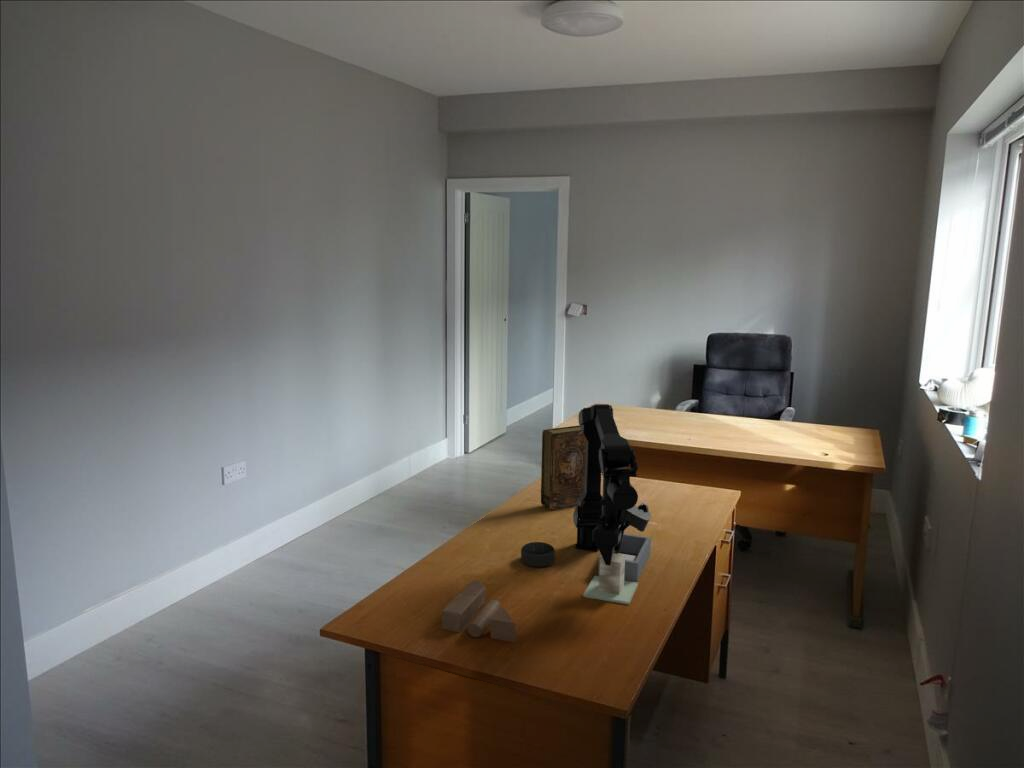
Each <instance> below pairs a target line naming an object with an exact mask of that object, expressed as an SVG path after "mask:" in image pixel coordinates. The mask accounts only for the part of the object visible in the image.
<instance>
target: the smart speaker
mask: <svg viewBox="0 0 1024 768" xmlns="http://www.w3.org/2000/svg"><path fill="white" fill-rule="evenodd" d="M555 556H556V550H555V548H554V547H553V545H551V544H549V543H547V542H542V541H534V542H528V543H526V544H524V545H523V546H522V547H521V550H520V560H521V562H522V563H523V564H525V565H527V566H528V567H533V568H544V567H548V566H551V565H552V564H553V563H554V562H555V560H556V557H555Z"/></svg>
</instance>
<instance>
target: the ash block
mask: <svg viewBox="0 0 1024 768" xmlns="http://www.w3.org/2000/svg"><path fill="white" fill-rule="evenodd" d="M622 554H623V553H620V554H618V553H617V552H616V553H613V556H612V560H611V564H610V565H606V564H605V562H604V560H603V558H602V557H601V559H600V573H599V591H602V592H608V593H614V594H620V592H621V590H622V589H623V587H624V581H625V580H624V573H625V555H622Z"/></svg>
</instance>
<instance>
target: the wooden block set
mask: <svg viewBox="0 0 1024 768" xmlns="http://www.w3.org/2000/svg"><path fill="white" fill-rule="evenodd" d="M485 602H486V586H485V585H484V583H483V582H481V581H480V580H476V579H475V580H472V581H470V583H469V584H468V585H467V586H466V587H465V588H464V589H463V590H462V591H461V592H460V593H457V594H456V596H455V597H453V599H452V600H450V602H449V603H448V604H447V605H446V606H445V607H444V608H443V609H442V611H441V629H443V630H447V631H451V632H457V633H462V631H463V630H465V628H466V627H467V632H468V634H469V635H470V636H471V637H472V638H480V637H481V635H482V634H483V633H484V632H485V631H486V630H487V628H488V627H489V626H490V638H491V639H496V640H500V641H504V642H505V641H506V642H509V643H516V622H515V621H514V620H513V618H512V617H511V615H510V614H509V612H508V611H506V609H505V608H502V605H501V603H500V601H498V600H496V599H490V600H489V601H488V602H487V603H486V604H485V605H484V603H485ZM483 605H484V607H483V608H482V609H481V610H480V611H479V613H478V614H477V612H478V610H479V609H480V608H481V607H482V606H483ZM472 619H473V620H472Z"/></svg>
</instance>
